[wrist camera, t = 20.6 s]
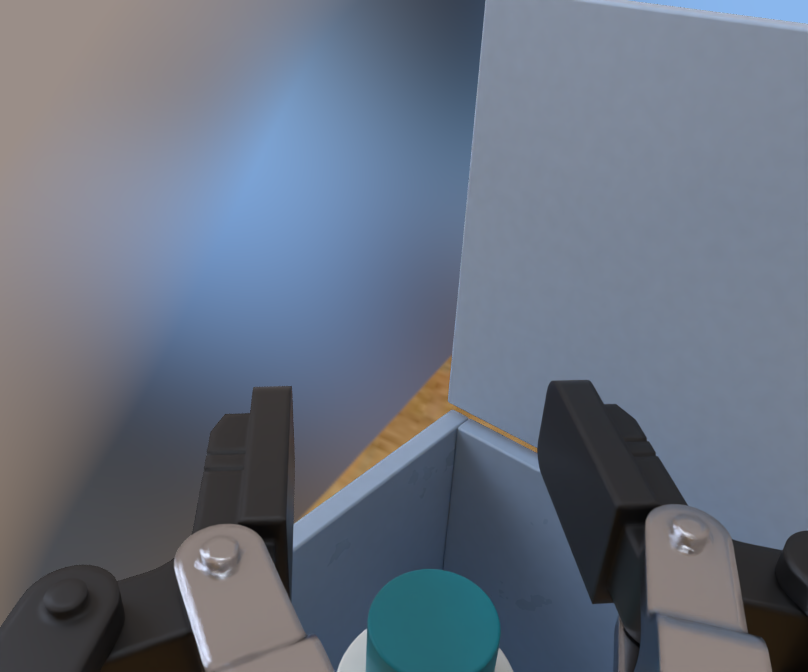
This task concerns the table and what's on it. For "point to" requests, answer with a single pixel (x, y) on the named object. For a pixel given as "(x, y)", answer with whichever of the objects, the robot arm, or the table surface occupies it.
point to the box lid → (646, 240)
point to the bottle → (429, 628)
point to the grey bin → (453, 547)
